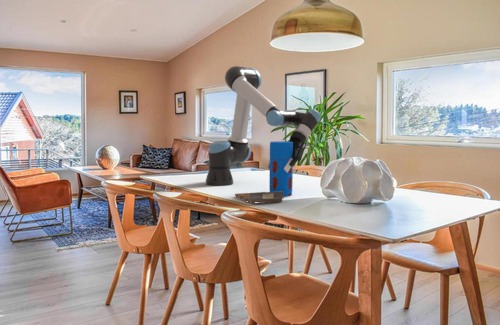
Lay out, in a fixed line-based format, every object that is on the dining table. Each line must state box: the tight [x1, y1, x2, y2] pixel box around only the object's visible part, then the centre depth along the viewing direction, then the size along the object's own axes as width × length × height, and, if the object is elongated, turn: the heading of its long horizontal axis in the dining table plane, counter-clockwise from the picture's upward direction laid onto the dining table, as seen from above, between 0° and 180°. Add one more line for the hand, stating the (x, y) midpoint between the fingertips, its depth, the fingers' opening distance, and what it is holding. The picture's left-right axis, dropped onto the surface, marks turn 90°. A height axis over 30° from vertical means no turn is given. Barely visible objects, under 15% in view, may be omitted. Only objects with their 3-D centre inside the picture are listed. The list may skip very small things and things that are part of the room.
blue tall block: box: [269, 140, 294, 197], centre depth 207 cm, size 11×11×25 cm
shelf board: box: [234, 191, 284, 204], centre depth 195 cm, size 19×15×4 cm
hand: (276, 169), depth 206 cm, fingers closed on blue tall block, 11 cm apart
